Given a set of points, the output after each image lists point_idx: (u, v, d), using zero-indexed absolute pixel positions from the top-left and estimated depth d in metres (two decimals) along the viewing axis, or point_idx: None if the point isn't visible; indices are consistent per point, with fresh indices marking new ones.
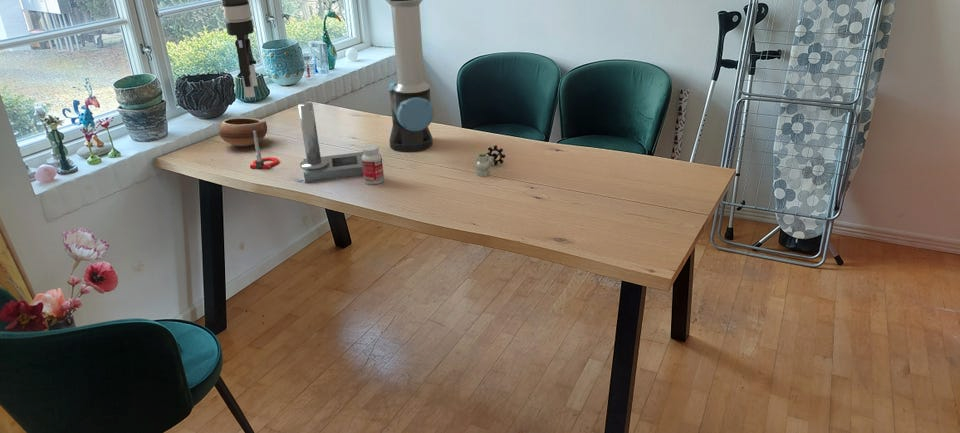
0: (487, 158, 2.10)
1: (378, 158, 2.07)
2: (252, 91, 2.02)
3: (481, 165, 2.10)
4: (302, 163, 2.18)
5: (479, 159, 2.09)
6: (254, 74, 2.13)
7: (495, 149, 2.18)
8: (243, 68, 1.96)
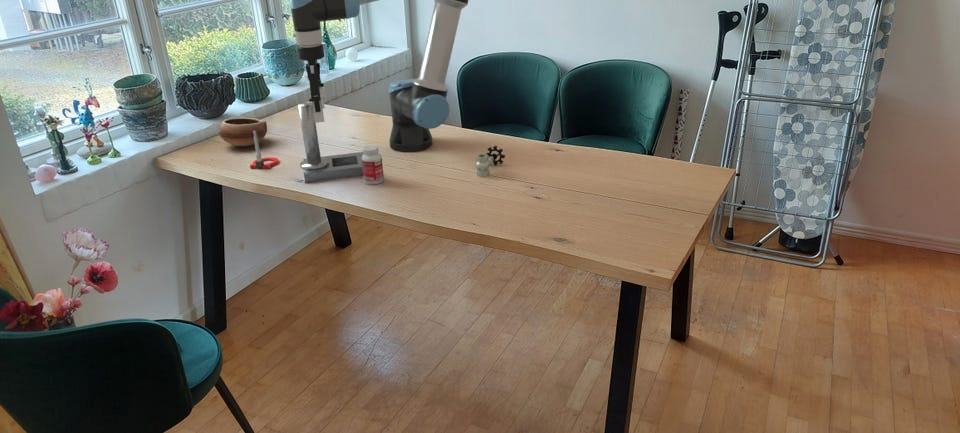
0: (487, 158, 2.10)
1: (378, 158, 2.07)
2: (322, 116, 2.00)
3: (481, 166, 2.10)
4: (302, 163, 2.18)
5: (479, 159, 2.09)
6: (321, 97, 2.11)
7: (495, 149, 2.18)
8: (314, 94, 1.94)
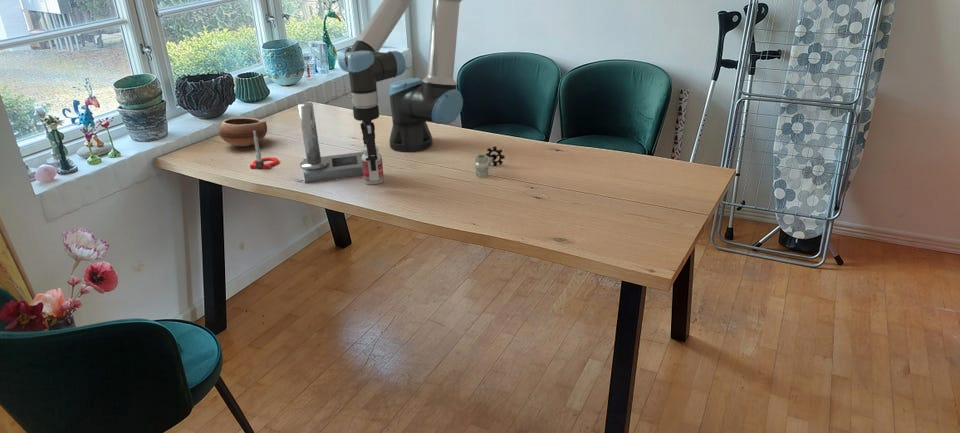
0: (486, 159, 2.09)
1: (377, 158, 2.07)
2: (377, 174, 2.03)
3: (480, 166, 2.09)
4: (302, 163, 2.18)
5: (478, 160, 2.09)
6: None
7: (494, 150, 2.18)
8: (371, 154, 1.98)
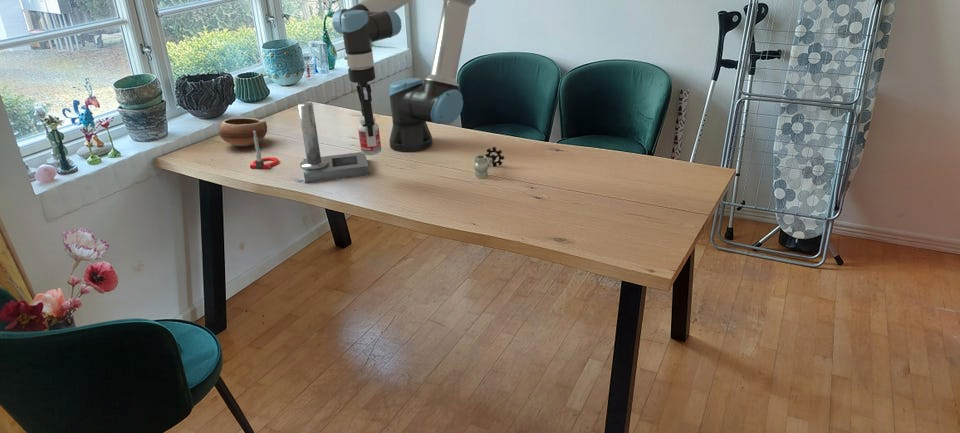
0: (485, 160, 2.09)
1: None
2: (374, 140, 2.03)
3: (479, 167, 2.09)
4: (302, 163, 2.18)
5: (477, 161, 2.08)
6: None
7: (494, 151, 2.17)
8: (368, 120, 1.97)
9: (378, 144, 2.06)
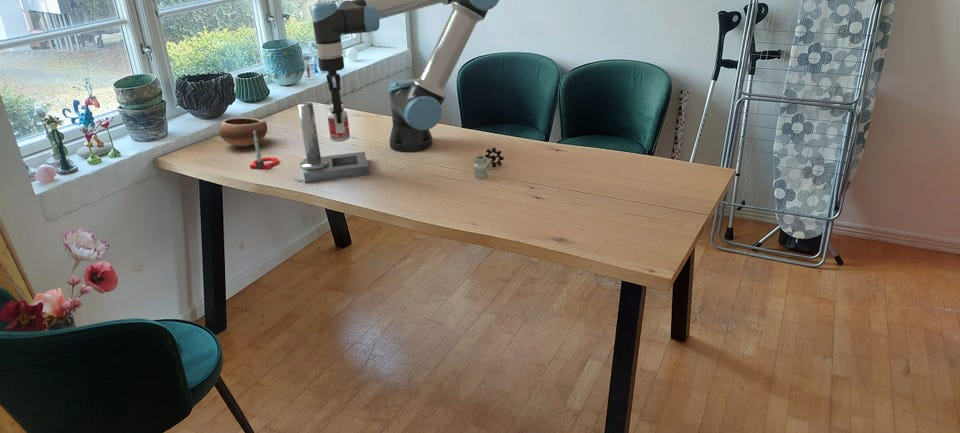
0: (485, 160, 2.08)
1: (343, 116, 2.12)
2: (342, 127, 2.12)
3: (479, 167, 2.08)
4: (302, 163, 2.18)
5: (476, 161, 2.08)
6: None
7: (493, 151, 2.17)
8: (336, 107, 2.06)
9: (346, 131, 2.15)
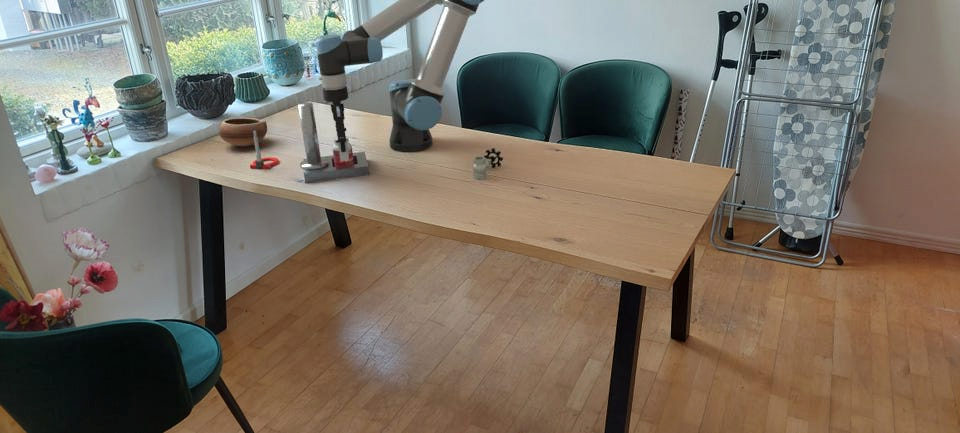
0: (484, 161, 2.08)
1: None
2: (347, 155, 2.15)
3: (478, 168, 2.08)
4: (302, 163, 2.18)
5: (476, 162, 2.07)
6: None
7: (493, 152, 2.16)
8: (340, 136, 2.09)
9: (351, 163, 2.19)
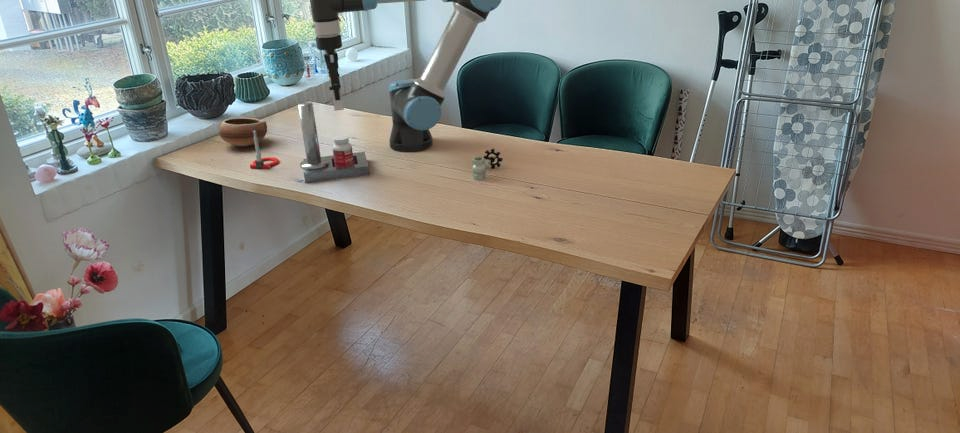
0: (483, 161, 2.08)
1: (347, 148, 2.17)
2: (341, 104, 2.06)
3: (477, 169, 2.07)
4: (302, 163, 2.18)
5: (475, 162, 2.07)
6: None
7: (492, 152, 2.16)
8: (334, 82, 2.01)
9: (351, 163, 2.19)
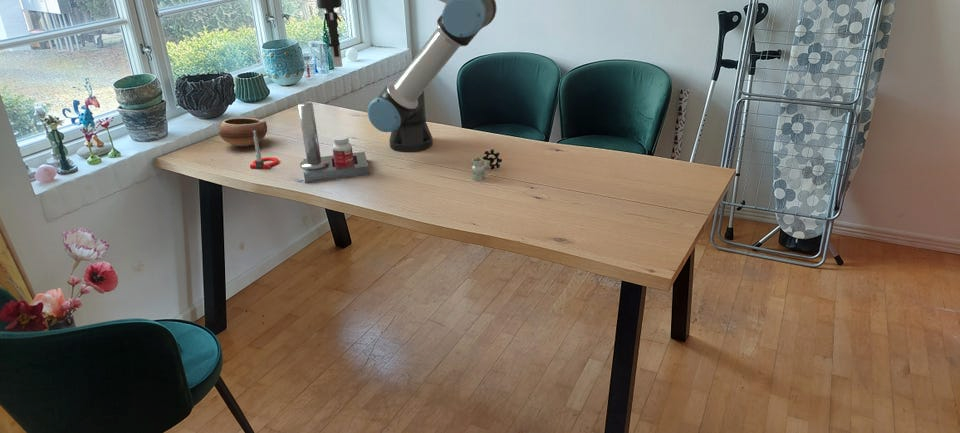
0: (482, 162, 2.07)
1: (347, 148, 2.17)
2: (340, 61, 2.15)
3: (476, 169, 2.07)
4: (302, 163, 2.18)
5: (474, 163, 2.07)
6: None
7: (492, 153, 2.15)
8: (333, 39, 2.10)
9: (351, 163, 2.19)
